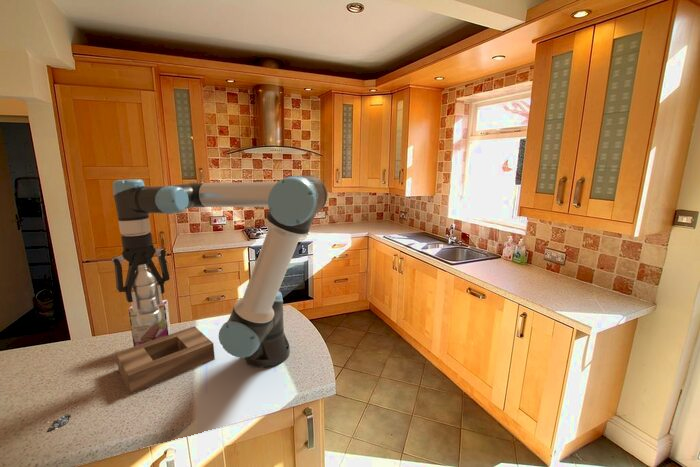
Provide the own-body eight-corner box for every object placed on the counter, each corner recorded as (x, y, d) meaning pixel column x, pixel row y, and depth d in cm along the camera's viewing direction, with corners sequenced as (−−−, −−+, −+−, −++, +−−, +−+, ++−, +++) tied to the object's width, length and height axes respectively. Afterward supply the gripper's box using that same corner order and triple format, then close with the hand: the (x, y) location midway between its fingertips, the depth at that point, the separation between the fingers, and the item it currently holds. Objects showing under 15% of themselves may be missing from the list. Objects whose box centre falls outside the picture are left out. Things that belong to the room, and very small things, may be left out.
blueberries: (32, 438, 80) (30, 432, 79) (58, 411, 87) (56, 405, 87) (61, 437, 80) (59, 431, 79) (85, 411, 88) (83, 405, 87)
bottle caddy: (214, 359, 110) (213, 343, 109) (131, 394, 94) (128, 375, 92) (196, 341, 121) (194, 326, 120) (118, 369, 104) (115, 352, 103)
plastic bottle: (153, 318, 106) (144, 258, 101) (167, 322, 103) (158, 261, 99) (133, 327, 100) (122, 264, 96) (147, 332, 97) (136, 267, 93)
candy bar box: (134, 353, 113) (127, 309, 110) (137, 345, 118) (131, 303, 114) (170, 347, 117) (165, 304, 114) (172, 340, 122) (167, 298, 118)
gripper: (167, 226, 105) (176, 294, 110) (92, 237, 91) (107, 314, 96) (175, 229, 100) (185, 301, 104) (98, 241, 86) (113, 322, 91)
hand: (148, 307), depth 100 cm, fingers closed on plastic bottle, 6 cm apart
